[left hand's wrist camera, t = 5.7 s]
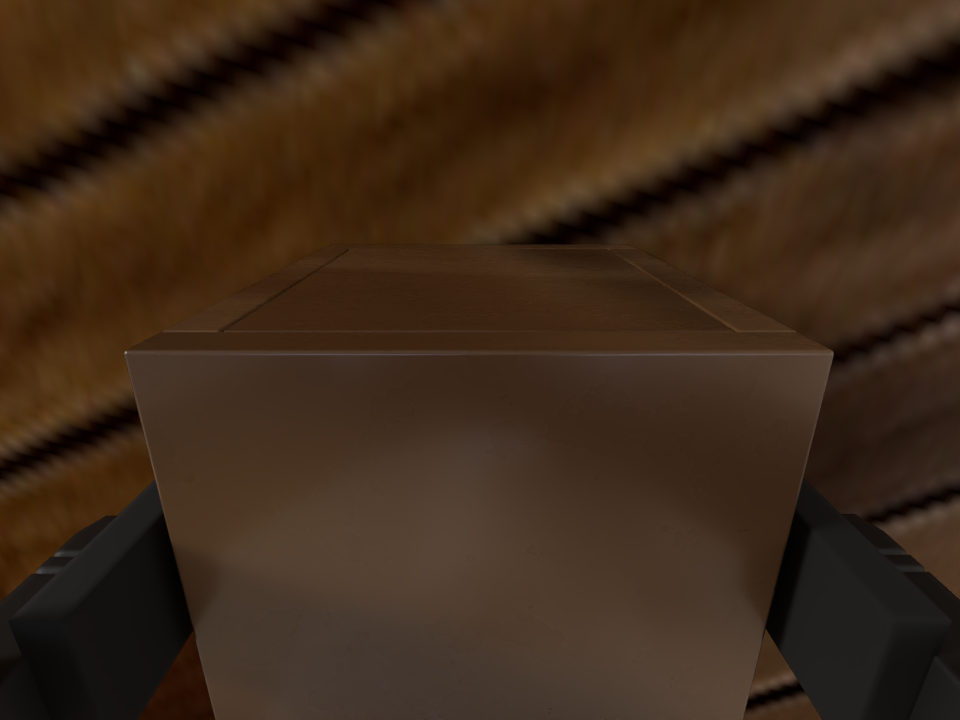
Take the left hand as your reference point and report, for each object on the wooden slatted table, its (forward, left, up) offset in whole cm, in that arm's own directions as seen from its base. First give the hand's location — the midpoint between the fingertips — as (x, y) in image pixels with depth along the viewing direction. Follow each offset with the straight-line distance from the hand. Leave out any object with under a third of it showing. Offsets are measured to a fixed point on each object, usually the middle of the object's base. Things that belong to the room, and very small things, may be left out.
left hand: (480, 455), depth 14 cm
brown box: (+2, +4, -6) cm, 8 cm away
